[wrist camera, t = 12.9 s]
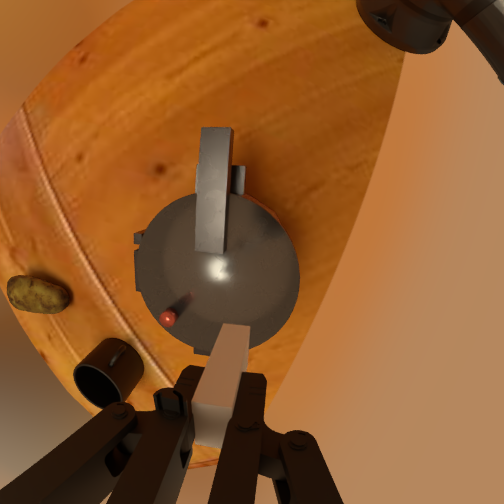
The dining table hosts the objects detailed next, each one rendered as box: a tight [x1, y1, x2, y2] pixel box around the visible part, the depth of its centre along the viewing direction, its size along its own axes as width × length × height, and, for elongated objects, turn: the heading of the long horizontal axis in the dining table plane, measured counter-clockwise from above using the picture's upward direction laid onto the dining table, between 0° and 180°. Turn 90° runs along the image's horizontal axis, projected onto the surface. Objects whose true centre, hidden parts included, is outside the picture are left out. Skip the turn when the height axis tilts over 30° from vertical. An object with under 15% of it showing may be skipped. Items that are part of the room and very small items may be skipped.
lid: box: [134, 127, 300, 352], centre depth 27 cm, size 17×22×3 cm
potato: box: [7, 275, 69, 314], centre depth 39 cm, size 8×13×8 cm, turn 62°
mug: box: [73, 338, 143, 409], centre depth 40 cm, size 9×12×9 cm
